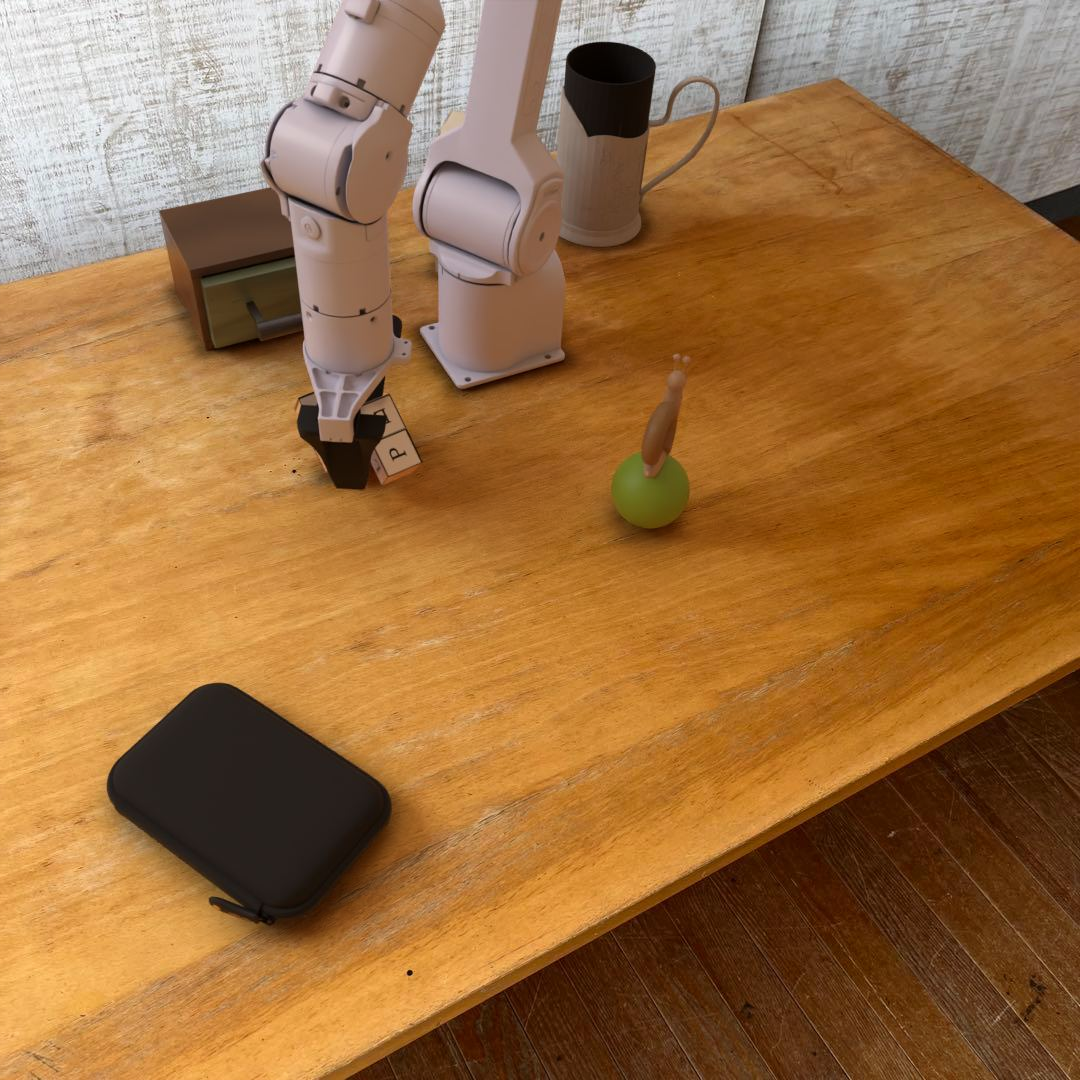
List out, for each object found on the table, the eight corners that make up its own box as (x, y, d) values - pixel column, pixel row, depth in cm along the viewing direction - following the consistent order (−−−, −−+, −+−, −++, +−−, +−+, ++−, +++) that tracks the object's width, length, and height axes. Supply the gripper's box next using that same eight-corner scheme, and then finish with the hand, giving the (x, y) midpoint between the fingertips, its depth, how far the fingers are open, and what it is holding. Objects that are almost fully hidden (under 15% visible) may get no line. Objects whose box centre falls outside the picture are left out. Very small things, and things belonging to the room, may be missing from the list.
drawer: (372, 343, 93) (368, 282, 89) (231, 380, 89) (220, 318, 85) (321, 263, 100) (315, 203, 95) (188, 295, 96) (176, 234, 91)
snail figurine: (694, 491, 85) (723, 363, 76) (672, 553, 81) (700, 425, 72) (623, 471, 86) (643, 342, 77) (597, 531, 82) (616, 402, 73)
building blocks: (408, 479, 86) (361, 382, 86) (423, 462, 81) (372, 358, 81) (342, 508, 84) (294, 408, 84) (353, 492, 79) (302, 386, 79)
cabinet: (355, 312, 97) (349, 233, 91) (205, 350, 93) (189, 270, 87) (319, 256, 102) (311, 178, 96) (175, 290, 98) (158, 210, 92)
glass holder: (542, 193, 110) (552, 37, 99) (688, 192, 112) (715, 38, 101) (552, 247, 105) (565, 88, 94) (707, 245, 106) (738, 88, 95)
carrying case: (81, 815, 65) (279, 965, 61) (67, 788, 63) (273, 941, 58) (217, 687, 72) (407, 814, 67) (210, 658, 69) (406, 787, 64)
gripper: (396, 368, 69) (403, 524, 79) (420, 228, 78) (423, 383, 89) (276, 360, 69) (298, 518, 79) (314, 221, 78) (330, 377, 88)
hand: (358, 446), depth 84 cm, fingers closed on building blocks, 7 cm apart
